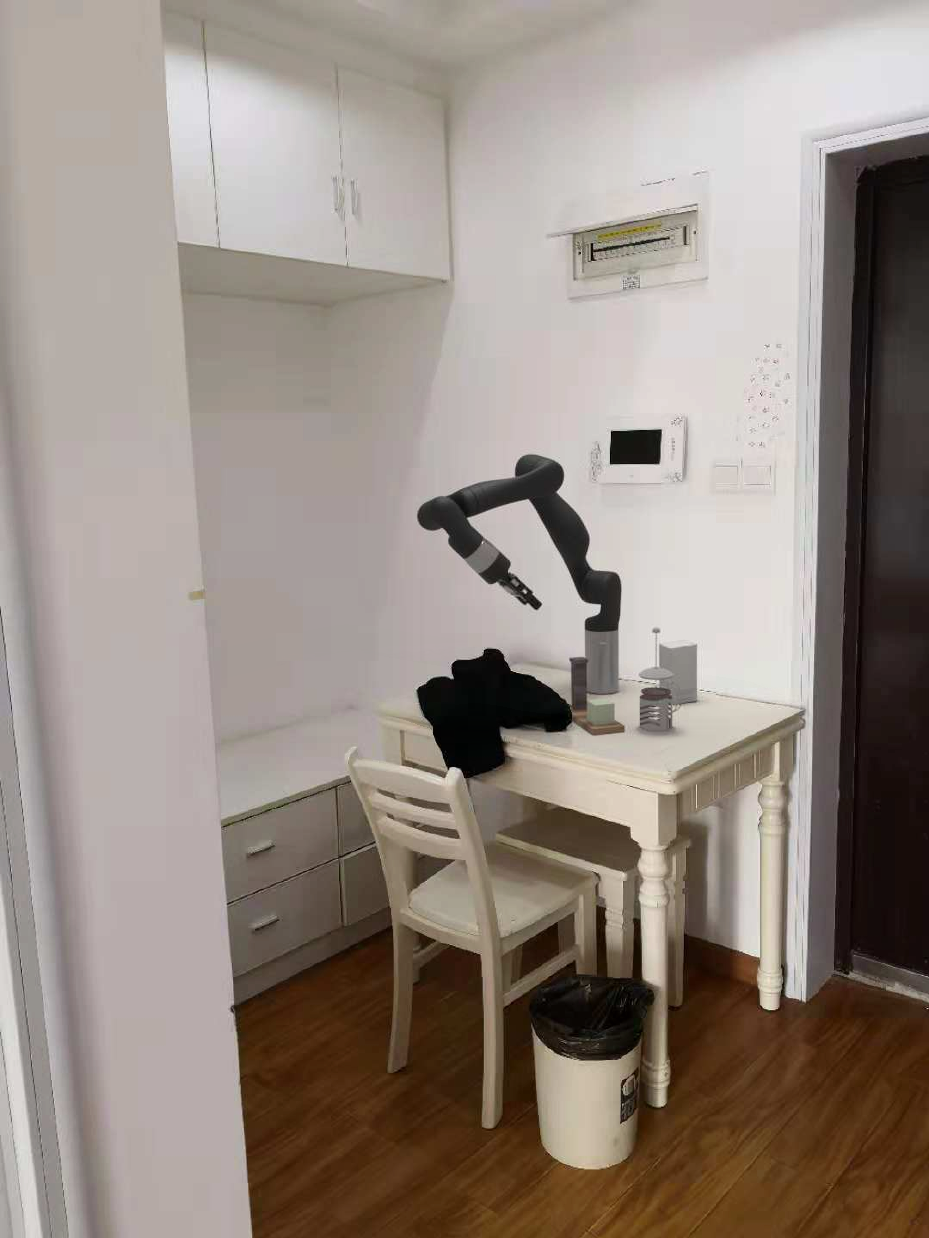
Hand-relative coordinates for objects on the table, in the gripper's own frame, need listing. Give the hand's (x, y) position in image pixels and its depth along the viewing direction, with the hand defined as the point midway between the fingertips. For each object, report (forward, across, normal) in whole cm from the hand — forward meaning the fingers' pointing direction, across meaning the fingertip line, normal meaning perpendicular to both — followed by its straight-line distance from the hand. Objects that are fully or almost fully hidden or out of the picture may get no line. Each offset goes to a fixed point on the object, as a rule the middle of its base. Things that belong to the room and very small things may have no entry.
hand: (533, 604), depth 252 cm
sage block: (+29, -9, +10) cm, 33 cm away
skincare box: (+51, +8, -9) cm, 53 cm away
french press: (+39, -16, +3) cm, 43 cm away
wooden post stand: (+30, -3, +12) cm, 33 cm away
